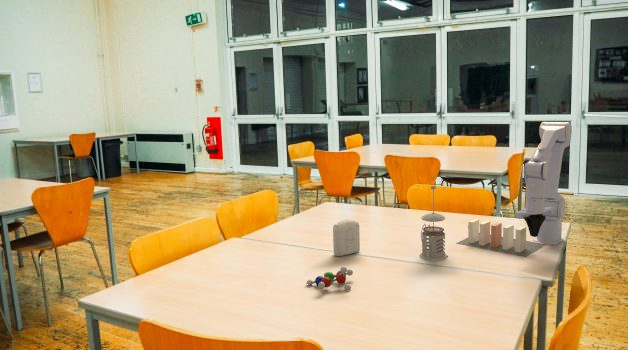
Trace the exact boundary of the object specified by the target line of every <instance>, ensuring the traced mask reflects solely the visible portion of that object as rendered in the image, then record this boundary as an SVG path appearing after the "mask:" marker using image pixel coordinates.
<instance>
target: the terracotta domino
mask: <svg viewBox="0 0 628 350" xmlns="http://www.w3.org/2000/svg"><path fill="white" fill-rule="evenodd" d="M502 223H503V222H496V223H493V224H490V235H491V247H494V248H496V247H498V246H499V245H501V237H503V231H502V230H503V229H502V228H503V227H502V226H503V224H502Z"/></svg>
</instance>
